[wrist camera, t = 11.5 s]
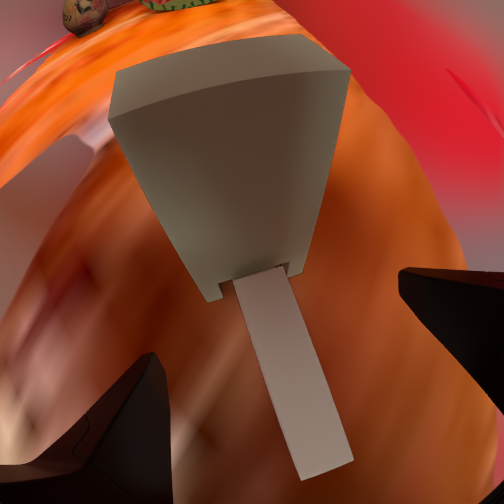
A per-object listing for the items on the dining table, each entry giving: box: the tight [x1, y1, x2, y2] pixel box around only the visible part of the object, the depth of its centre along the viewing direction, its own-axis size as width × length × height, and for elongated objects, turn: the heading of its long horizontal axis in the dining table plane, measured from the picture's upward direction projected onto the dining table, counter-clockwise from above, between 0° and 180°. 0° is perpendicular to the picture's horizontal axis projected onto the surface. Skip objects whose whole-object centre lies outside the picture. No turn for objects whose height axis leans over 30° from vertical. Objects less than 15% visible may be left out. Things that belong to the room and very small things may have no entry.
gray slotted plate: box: [108, 34, 351, 303], centre depth 12 cm, size 6×3×13 cm, turn 108°
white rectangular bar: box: [232, 266, 354, 481], centre depth 15 cm, size 18×2×4 cm, turn 18°
